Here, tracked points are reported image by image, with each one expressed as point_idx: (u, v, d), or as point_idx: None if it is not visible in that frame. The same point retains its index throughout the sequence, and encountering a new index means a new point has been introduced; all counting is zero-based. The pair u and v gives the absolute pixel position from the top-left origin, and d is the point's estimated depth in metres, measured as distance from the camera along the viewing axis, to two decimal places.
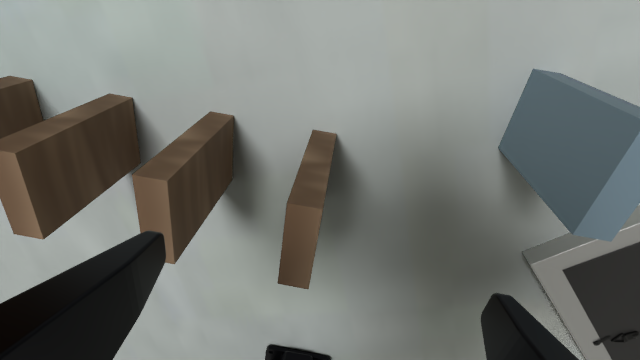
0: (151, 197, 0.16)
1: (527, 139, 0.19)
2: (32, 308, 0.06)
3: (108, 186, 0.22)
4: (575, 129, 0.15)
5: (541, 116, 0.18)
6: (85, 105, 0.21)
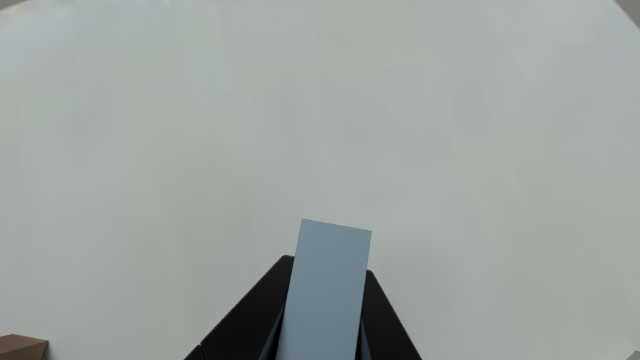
0: None
1: None
2: (235, 346, 0.06)
3: None
4: None
5: None
6: None
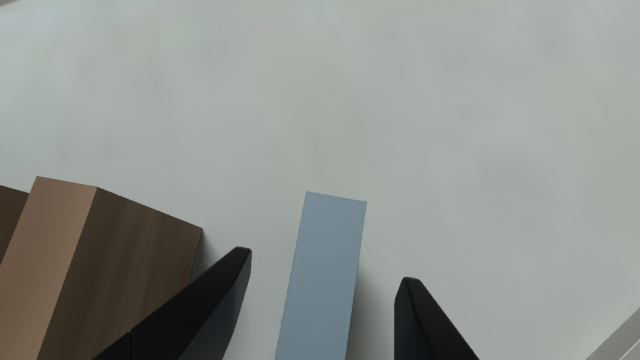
0: None
1: None
2: (165, 333, 0.06)
3: None
4: None
5: None
6: None
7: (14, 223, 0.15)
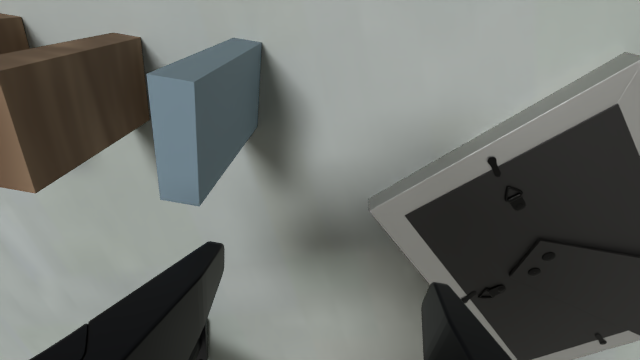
0: None
1: None
2: (123, 325, 0.06)
3: None
4: None
5: None
6: None
7: None
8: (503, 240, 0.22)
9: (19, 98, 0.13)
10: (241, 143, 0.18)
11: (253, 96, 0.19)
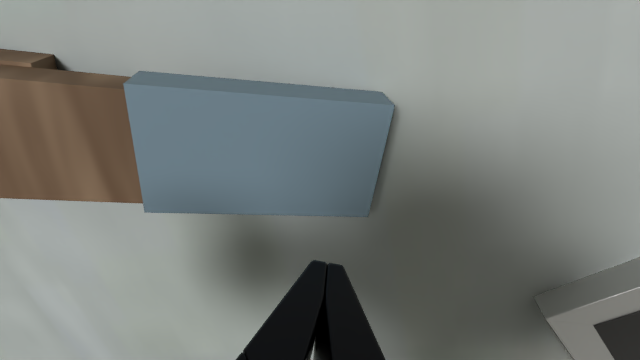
0: None
1: None
2: (278, 354, 0.06)
3: None
4: None
5: None
6: None
7: None
8: None
9: None
10: (291, 209, 0.14)
11: (348, 169, 0.13)
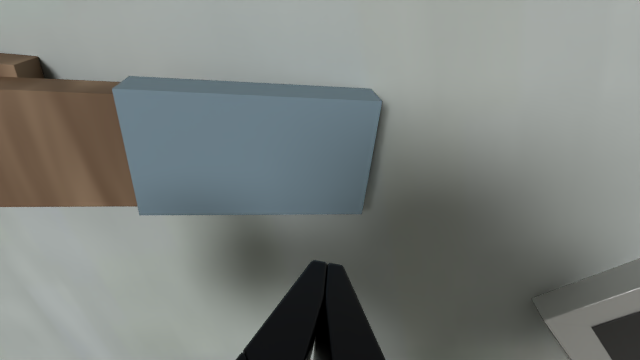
0: None
1: None
2: (278, 354, 0.06)
3: None
4: None
5: None
6: None
7: None
8: None
9: None
10: (284, 208, 0.14)
11: (338, 166, 0.14)
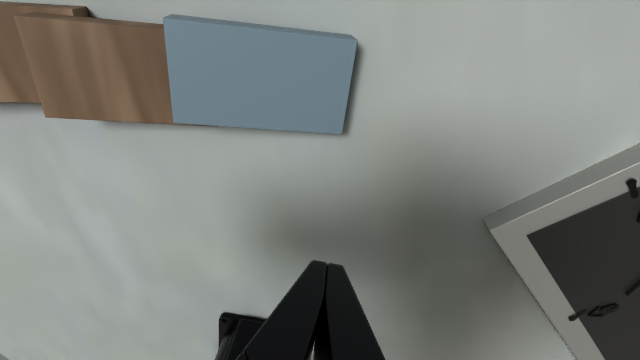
0: None
1: None
2: (278, 354, 0.06)
3: None
4: None
5: None
6: None
7: None
8: (626, 260, 0.22)
9: (34, 41, 0.17)
10: (282, 125, 0.19)
11: (324, 92, 0.18)
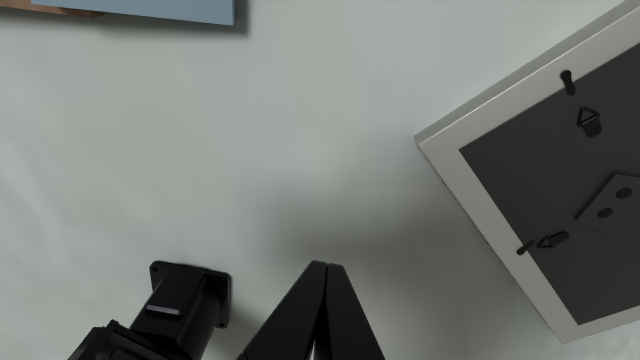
0: None
1: None
2: (278, 354, 0.06)
3: None
4: None
5: None
6: None
7: None
8: (571, 176, 0.20)
9: None
10: (160, 11, 0.17)
11: None
